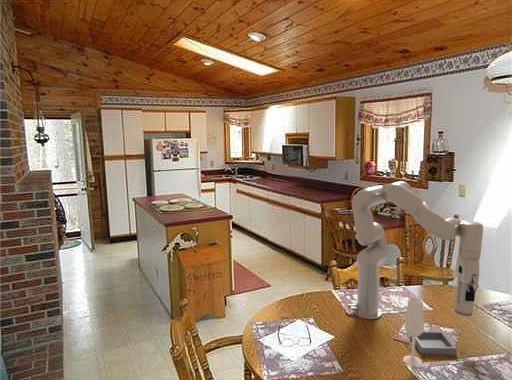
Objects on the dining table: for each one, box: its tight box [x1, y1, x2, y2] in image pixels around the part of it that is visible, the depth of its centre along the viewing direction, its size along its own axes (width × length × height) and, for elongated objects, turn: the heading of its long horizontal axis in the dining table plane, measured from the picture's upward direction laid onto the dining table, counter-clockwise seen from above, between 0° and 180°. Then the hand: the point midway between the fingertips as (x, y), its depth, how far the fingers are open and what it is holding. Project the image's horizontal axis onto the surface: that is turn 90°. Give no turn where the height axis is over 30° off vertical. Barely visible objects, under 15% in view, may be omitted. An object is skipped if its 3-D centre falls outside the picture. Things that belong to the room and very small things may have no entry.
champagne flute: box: [402, 296, 425, 367], centre depth 142 cm, size 7×7×24 cm
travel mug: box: [454, 265, 475, 317], centre depth 152 cm, size 6×7×20 cm
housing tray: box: [409, 330, 458, 357], centre depth 153 cm, size 13×13×3 cm
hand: (465, 296), depth 152 cm, fingers closed on travel mug, 6 cm apart
